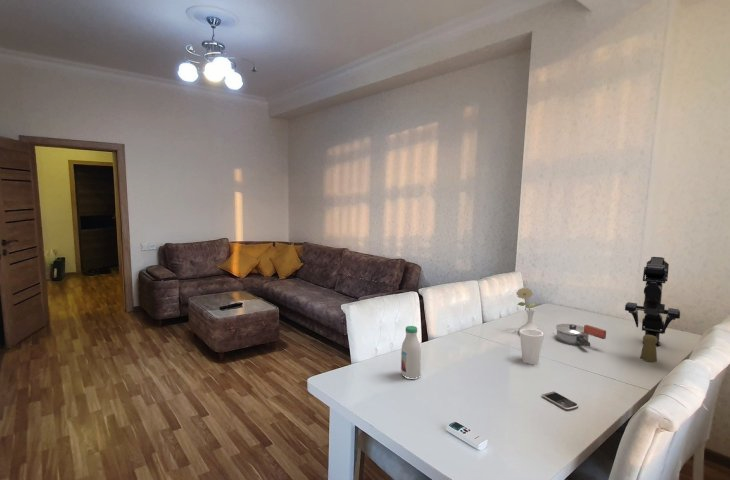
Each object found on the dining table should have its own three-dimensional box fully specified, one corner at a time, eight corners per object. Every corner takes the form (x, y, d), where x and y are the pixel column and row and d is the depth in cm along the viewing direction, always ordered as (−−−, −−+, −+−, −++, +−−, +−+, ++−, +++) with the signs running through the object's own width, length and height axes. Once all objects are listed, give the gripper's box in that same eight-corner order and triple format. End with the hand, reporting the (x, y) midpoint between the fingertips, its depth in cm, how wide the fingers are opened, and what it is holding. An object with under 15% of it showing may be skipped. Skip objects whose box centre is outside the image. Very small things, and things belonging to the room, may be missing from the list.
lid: (549, 328, 195) (550, 319, 194) (569, 324, 201) (569, 315, 200) (594, 343, 174) (594, 333, 173) (614, 338, 180) (614, 328, 180)
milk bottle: (422, 373, 155) (422, 325, 153) (418, 381, 148) (419, 331, 146) (403, 370, 158) (404, 323, 156) (399, 378, 151) (399, 329, 149)
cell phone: (567, 413, 127) (567, 409, 127) (539, 397, 137) (540, 393, 137) (579, 409, 130) (580, 405, 129) (552, 393, 140) (552, 390, 139)
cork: (660, 362, 165) (662, 338, 164) (644, 361, 167) (646, 337, 165) (652, 357, 171) (654, 333, 170) (637, 356, 172) (639, 332, 171)
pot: (549, 333, 202) (550, 324, 201) (577, 334, 201) (577, 325, 200) (571, 351, 177) (571, 341, 177) (602, 352, 176) (603, 342, 176)
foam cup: (542, 359, 169) (543, 330, 168) (542, 367, 161) (543, 337, 159) (519, 355, 173) (520, 327, 172) (518, 363, 165) (519, 334, 163)
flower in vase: (542, 333, 201) (545, 287, 199) (539, 340, 192) (541, 291, 189) (516, 329, 208) (518, 284, 206) (512, 335, 199) (514, 288, 196)
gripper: (624, 294, 163) (622, 329, 165) (681, 301, 151) (678, 339, 153) (627, 289, 171) (625, 323, 173) (681, 296, 160) (678, 332, 161)
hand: (650, 329), depth 165 cm, fingers open, 9 cm apart
